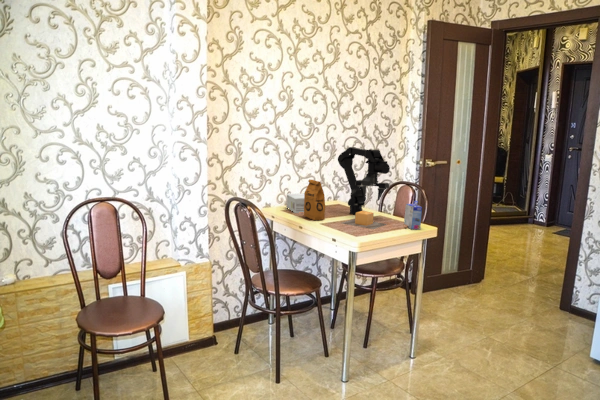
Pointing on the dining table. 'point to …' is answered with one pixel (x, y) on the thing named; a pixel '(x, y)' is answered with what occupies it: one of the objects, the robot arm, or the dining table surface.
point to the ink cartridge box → (413, 215)
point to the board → (371, 226)
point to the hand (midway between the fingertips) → (371, 199)
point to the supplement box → (295, 202)
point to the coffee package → (314, 201)
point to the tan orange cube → (364, 218)
